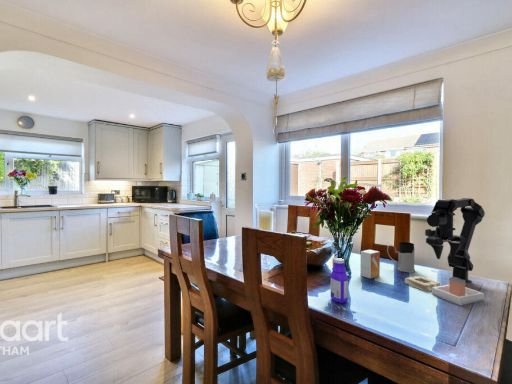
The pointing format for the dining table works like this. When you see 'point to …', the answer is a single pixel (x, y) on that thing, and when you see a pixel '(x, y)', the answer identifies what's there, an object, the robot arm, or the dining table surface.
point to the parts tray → (469, 296)
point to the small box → (370, 263)
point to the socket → (422, 283)
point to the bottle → (339, 281)
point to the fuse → (457, 286)
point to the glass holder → (405, 256)
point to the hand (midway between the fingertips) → (445, 258)
